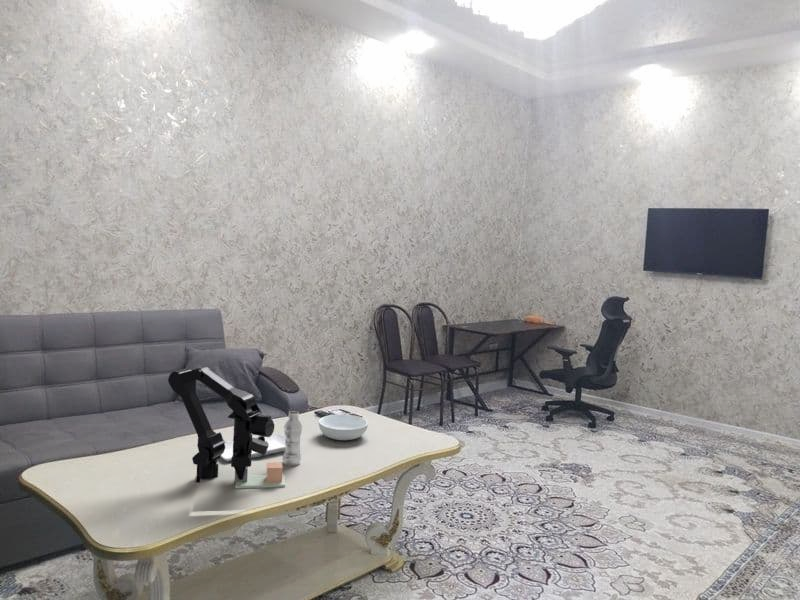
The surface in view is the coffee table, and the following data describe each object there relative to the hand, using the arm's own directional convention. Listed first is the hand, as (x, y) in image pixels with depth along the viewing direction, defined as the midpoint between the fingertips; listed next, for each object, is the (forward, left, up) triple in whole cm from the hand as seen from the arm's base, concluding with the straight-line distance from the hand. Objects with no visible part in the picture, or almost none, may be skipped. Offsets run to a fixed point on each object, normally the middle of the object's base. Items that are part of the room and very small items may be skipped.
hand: (241, 477), depth 203 cm
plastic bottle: (+17, +17, -3) cm, 25 cm away
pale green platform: (+6, 0, -2) cm, 7 cm away
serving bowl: (+40, +49, -3) cm, 64 cm away
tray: (+4, +33, -3) cm, 33 cm away
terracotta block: (+11, 0, -1) cm, 11 cm away
